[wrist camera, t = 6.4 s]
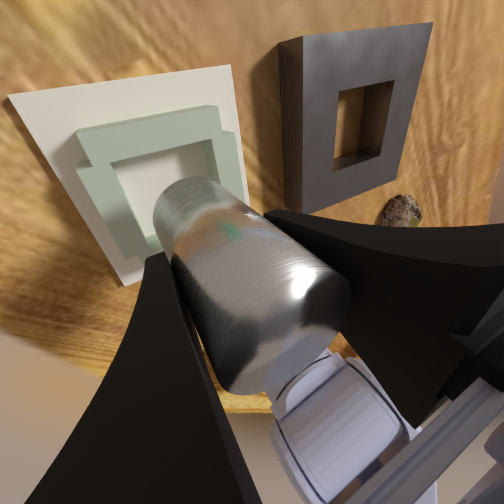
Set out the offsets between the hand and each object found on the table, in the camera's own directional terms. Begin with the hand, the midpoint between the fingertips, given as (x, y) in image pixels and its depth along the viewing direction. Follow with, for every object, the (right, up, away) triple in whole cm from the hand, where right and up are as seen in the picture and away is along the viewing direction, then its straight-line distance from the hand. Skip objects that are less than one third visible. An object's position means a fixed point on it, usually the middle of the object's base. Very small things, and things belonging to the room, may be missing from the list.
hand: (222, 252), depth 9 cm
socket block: (+9, +11, +11) cm, 18 cm away
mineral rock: (+21, +4, +24) cm, 32 cm away
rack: (-4, +5, +7) cm, 9 cm away
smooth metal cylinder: (-2, +2, +2) cm, 3 cm away
